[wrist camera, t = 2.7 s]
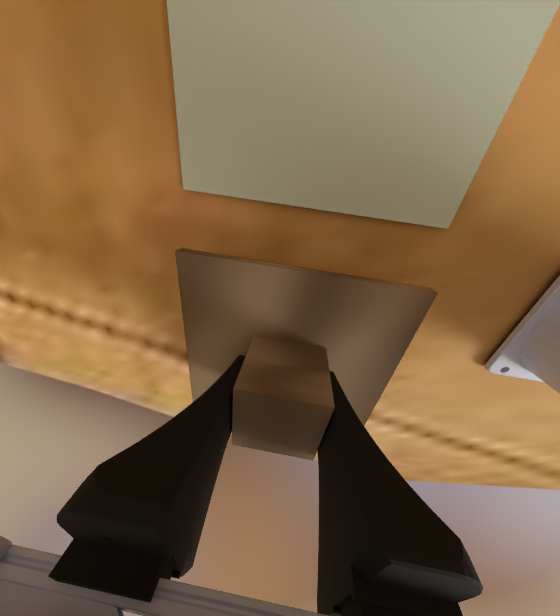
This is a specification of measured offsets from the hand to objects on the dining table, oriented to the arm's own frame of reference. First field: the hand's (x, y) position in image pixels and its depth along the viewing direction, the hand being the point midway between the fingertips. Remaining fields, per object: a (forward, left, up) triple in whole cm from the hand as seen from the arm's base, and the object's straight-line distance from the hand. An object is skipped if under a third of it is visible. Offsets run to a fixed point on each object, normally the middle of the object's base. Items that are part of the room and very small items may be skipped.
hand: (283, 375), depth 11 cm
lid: (0, 0, -1) cm, 1 cm away
